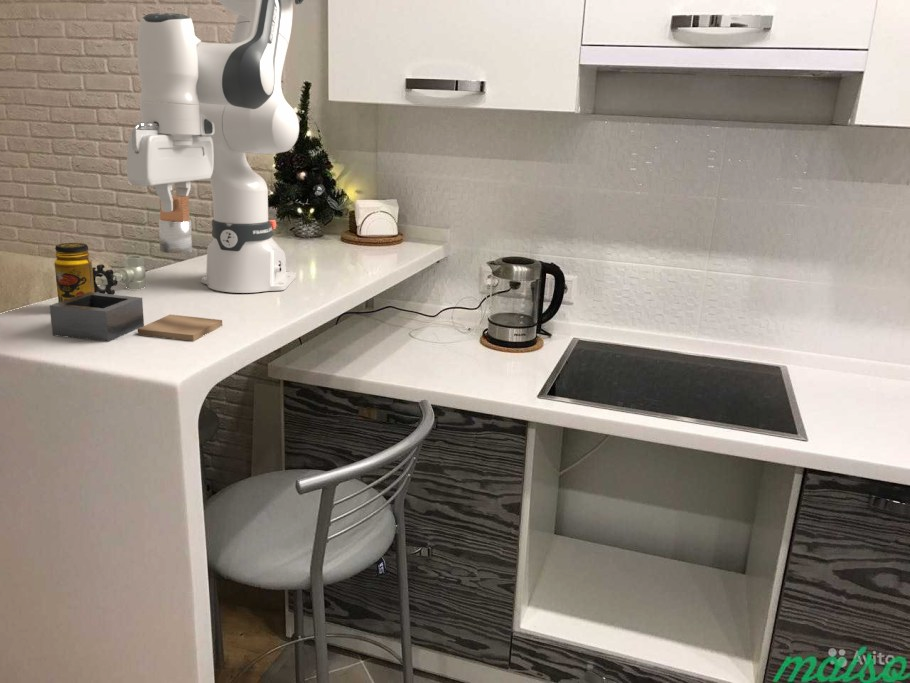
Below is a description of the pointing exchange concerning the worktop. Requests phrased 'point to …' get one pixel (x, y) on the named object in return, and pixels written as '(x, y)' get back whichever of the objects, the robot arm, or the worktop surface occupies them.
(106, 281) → the valve
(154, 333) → the board
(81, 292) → the condiment
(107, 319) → the housing
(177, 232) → the plug
